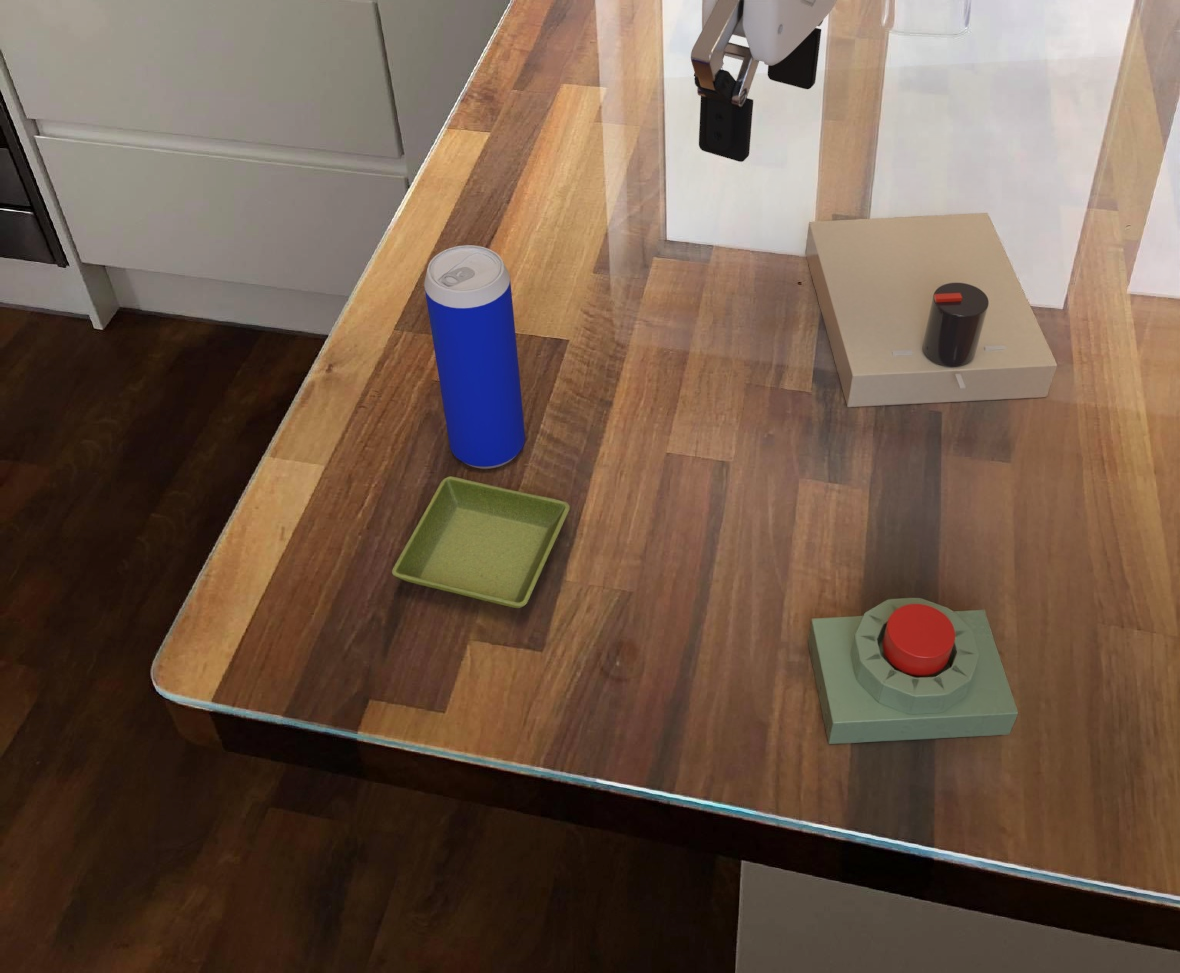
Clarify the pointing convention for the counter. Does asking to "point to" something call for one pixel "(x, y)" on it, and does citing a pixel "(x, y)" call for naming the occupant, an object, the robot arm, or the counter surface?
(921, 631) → the button
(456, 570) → the green square tray
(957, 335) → the knob
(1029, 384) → the panel
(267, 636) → the counter surface
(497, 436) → the beverage can
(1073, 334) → the counter surface
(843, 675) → the green button base
